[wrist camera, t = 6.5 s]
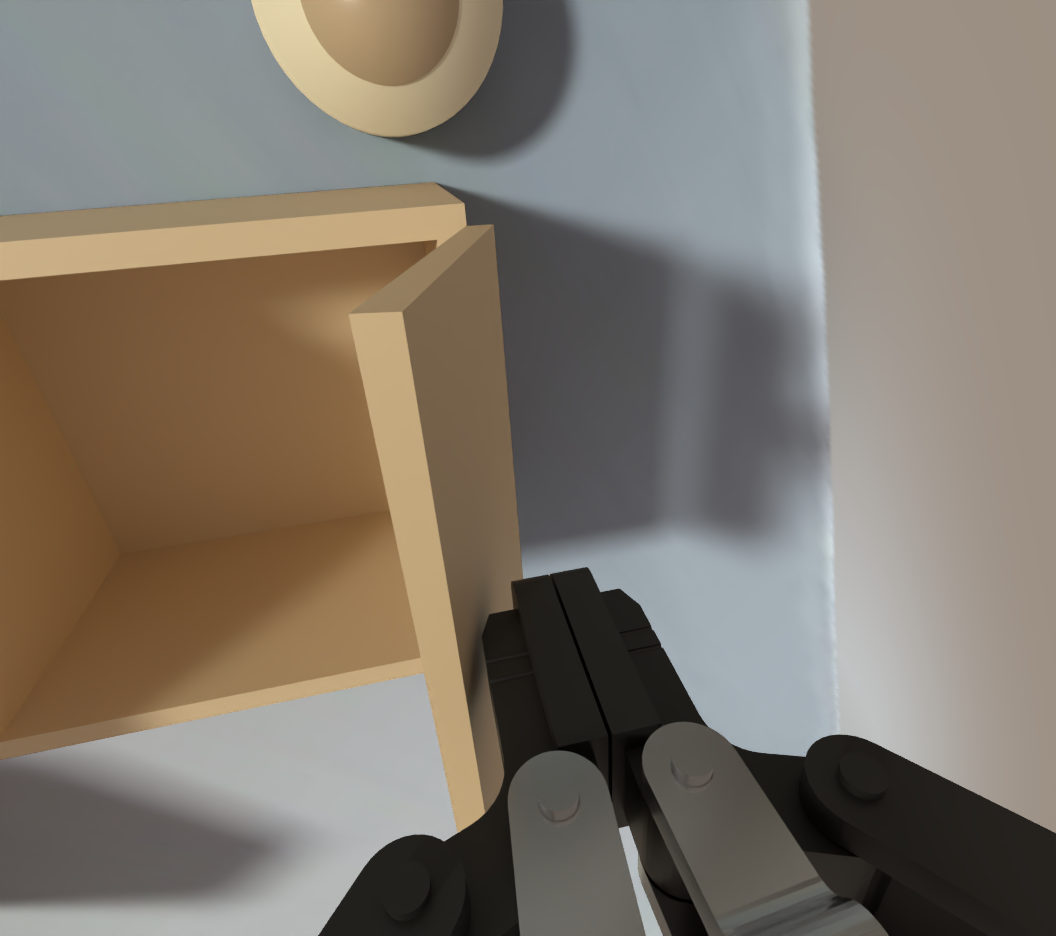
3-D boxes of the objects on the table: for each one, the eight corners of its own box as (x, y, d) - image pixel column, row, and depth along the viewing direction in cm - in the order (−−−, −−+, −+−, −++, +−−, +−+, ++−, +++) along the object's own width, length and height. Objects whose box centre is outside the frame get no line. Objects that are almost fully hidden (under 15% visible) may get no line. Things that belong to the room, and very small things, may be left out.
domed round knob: (235, -135, 17) (206, -189, 14) (476, -134, 18) (492, -184, 15) (297, 144, 20) (283, 143, 17) (496, 130, 21) (512, 127, 19)
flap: (348, 314, 6) (402, 311, 6) (465, 225, 13) (493, 224, 12) (475, 915, 13) (502, 917, 13) (511, 660, 19) (529, 660, 19)
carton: (-57, 220, 19) (-421, 277, 10) (433, 182, 21) (464, 203, 13) (120, 567, 26) (-10, 772, 18) (474, 509, 29) (512, 664, 20)
